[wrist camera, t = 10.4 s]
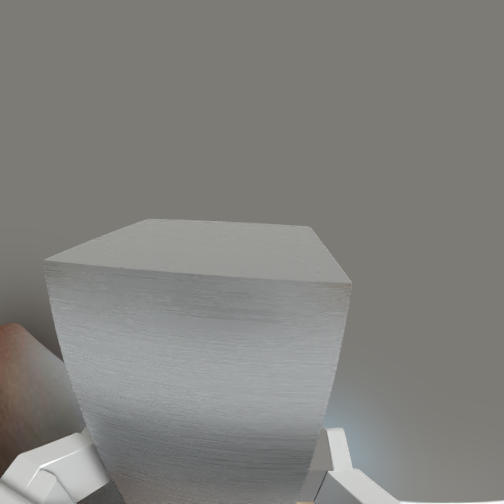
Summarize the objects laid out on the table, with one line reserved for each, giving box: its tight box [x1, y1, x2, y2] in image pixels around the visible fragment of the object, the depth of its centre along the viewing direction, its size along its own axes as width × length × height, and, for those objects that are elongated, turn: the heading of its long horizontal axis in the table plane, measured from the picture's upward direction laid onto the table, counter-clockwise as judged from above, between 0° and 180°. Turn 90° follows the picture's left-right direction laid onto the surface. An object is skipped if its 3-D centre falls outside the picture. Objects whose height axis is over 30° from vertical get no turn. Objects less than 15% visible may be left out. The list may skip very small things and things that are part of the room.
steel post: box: [44, 219, 352, 504], centre depth 7 cm, size 4×4×14 cm
